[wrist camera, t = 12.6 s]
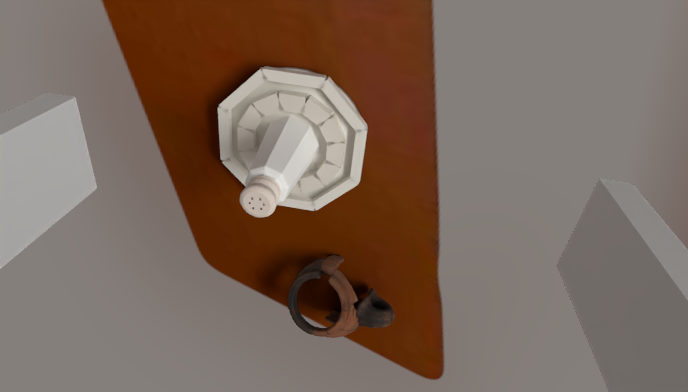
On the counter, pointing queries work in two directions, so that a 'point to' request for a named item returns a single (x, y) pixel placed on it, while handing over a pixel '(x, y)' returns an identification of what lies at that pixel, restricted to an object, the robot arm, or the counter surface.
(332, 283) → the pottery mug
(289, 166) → the pepper shaker
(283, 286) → the counter surface
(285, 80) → the dish
